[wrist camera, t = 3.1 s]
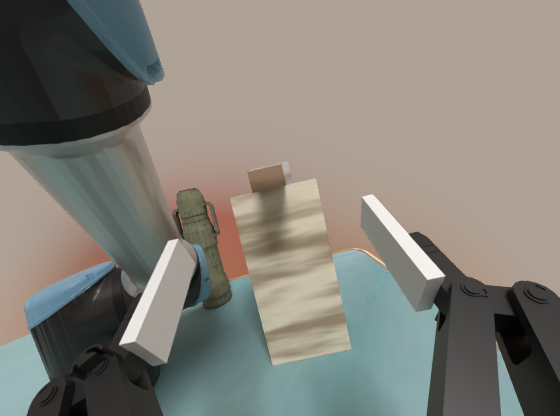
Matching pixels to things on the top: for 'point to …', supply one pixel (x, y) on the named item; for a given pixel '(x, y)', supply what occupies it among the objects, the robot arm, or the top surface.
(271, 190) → the pedestal
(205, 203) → the thermos
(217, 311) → the top surface
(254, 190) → the hammer
